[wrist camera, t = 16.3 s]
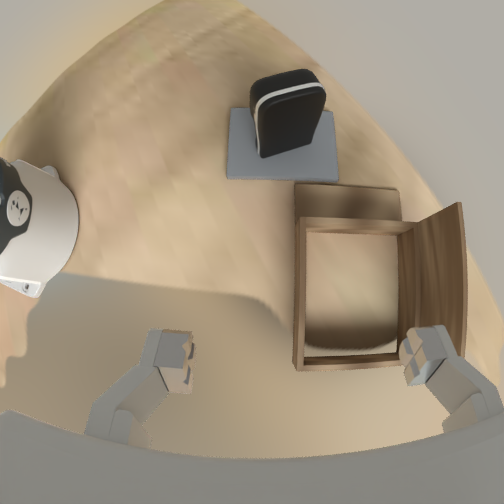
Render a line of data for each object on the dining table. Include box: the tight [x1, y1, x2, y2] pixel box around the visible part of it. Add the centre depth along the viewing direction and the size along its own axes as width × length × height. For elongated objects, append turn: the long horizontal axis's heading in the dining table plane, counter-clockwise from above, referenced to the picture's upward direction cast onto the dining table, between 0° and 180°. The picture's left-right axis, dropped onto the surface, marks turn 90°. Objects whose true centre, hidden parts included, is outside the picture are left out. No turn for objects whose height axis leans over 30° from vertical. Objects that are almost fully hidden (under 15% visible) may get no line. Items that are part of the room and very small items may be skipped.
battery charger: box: [250, 69, 326, 159], centre depth 30 cm, size 7×4×11 cm, turn 110°
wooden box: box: [292, 184, 468, 371], centre depth 28 cm, size 14×20×12 cm
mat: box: [227, 108, 339, 182], centre depth 36 cm, size 13×10×1 cm
